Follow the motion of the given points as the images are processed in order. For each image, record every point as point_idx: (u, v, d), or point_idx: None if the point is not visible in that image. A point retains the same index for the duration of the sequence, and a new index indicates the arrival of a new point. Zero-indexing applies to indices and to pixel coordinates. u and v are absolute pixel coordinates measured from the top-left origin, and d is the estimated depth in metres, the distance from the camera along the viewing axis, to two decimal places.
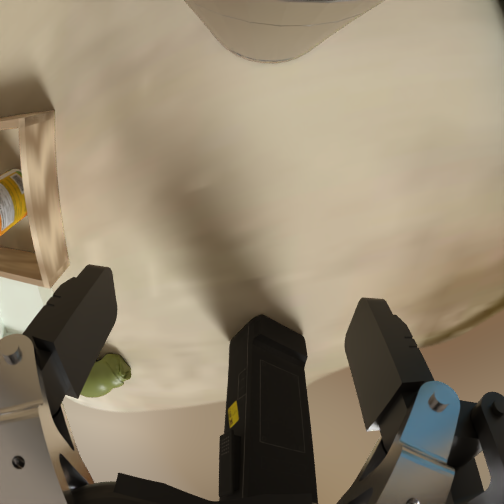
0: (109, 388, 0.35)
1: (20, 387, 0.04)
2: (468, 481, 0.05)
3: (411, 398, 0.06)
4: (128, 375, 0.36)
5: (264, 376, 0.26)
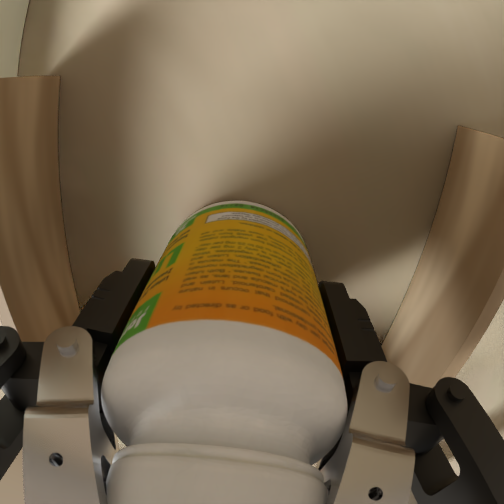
0: None
1: (84, 379, 0.05)
2: (436, 468, 0.05)
3: (358, 378, 0.06)
4: None
5: None
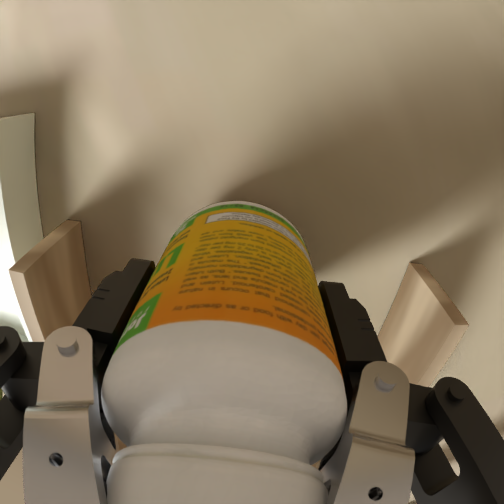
0: None
1: (84, 379, 0.05)
2: (436, 468, 0.05)
3: (358, 377, 0.06)
4: None
5: None
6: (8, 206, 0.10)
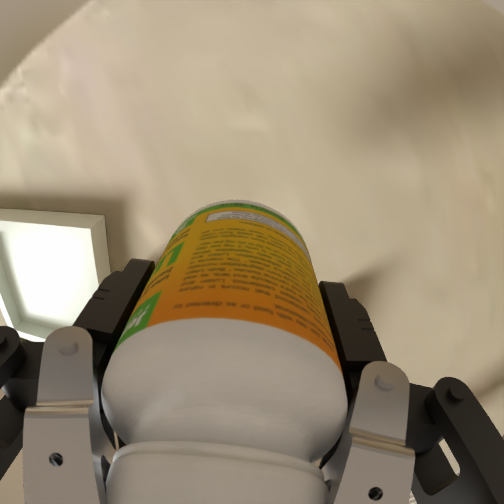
0: None
1: (84, 379, 0.05)
2: (436, 468, 0.05)
3: (358, 378, 0.06)
4: None
5: None
6: (98, 270, 0.22)
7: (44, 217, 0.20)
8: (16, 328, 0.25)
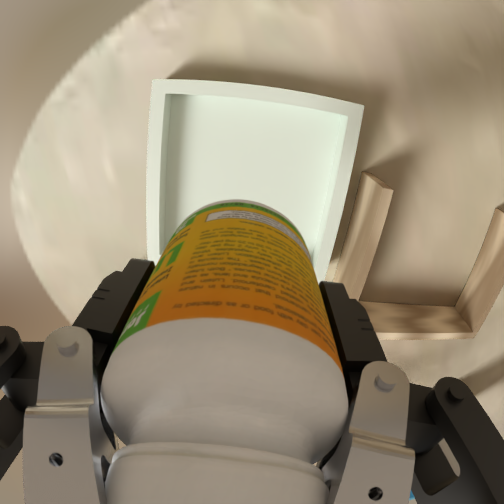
0: None
1: (84, 379, 0.05)
2: (436, 468, 0.05)
3: (358, 378, 0.06)
4: None
5: None
6: (353, 155, 0.20)
7: None
8: None
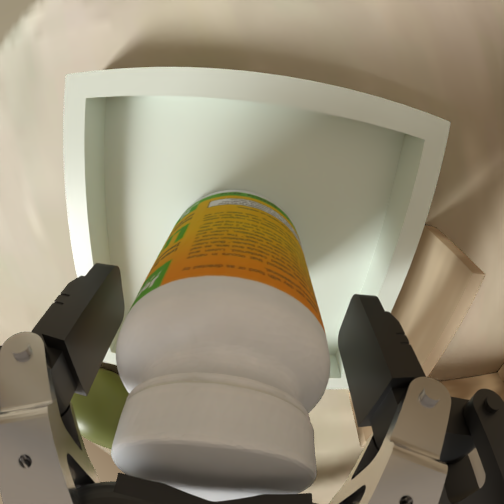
0: None
1: (31, 384, 0.04)
2: (462, 478, 0.05)
3: (402, 394, 0.06)
4: None
5: None
6: (424, 209, 0.11)
7: None
8: (115, 349, 0.14)
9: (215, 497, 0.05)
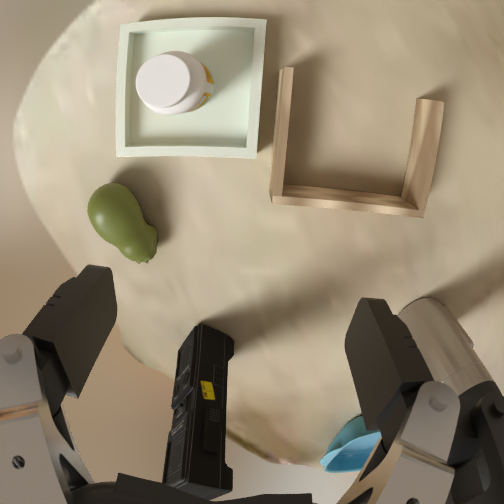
0: (120, 247, 0.31)
1: (20, 387, 0.04)
2: (468, 481, 0.05)
3: (411, 398, 0.06)
4: None
5: None
6: (263, 54, 0.24)
7: None
8: (127, 146, 0.28)
9: (162, 96, 0.18)
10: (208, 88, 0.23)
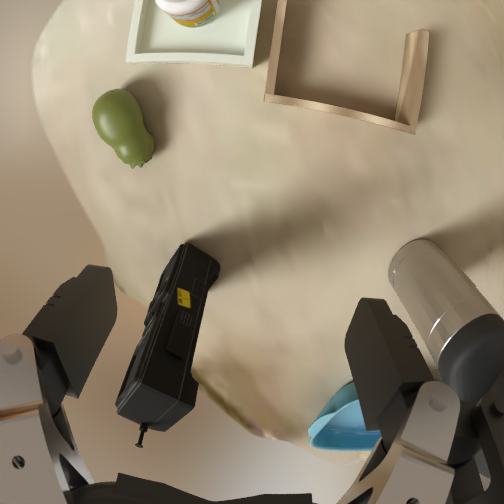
0: (116, 147, 0.30)
1: (20, 387, 0.04)
2: (468, 481, 0.05)
3: (411, 398, 0.06)
4: (134, 166, 0.33)
5: None
6: None
7: None
8: (136, 54, 0.27)
9: None
10: (213, 0, 0.22)
